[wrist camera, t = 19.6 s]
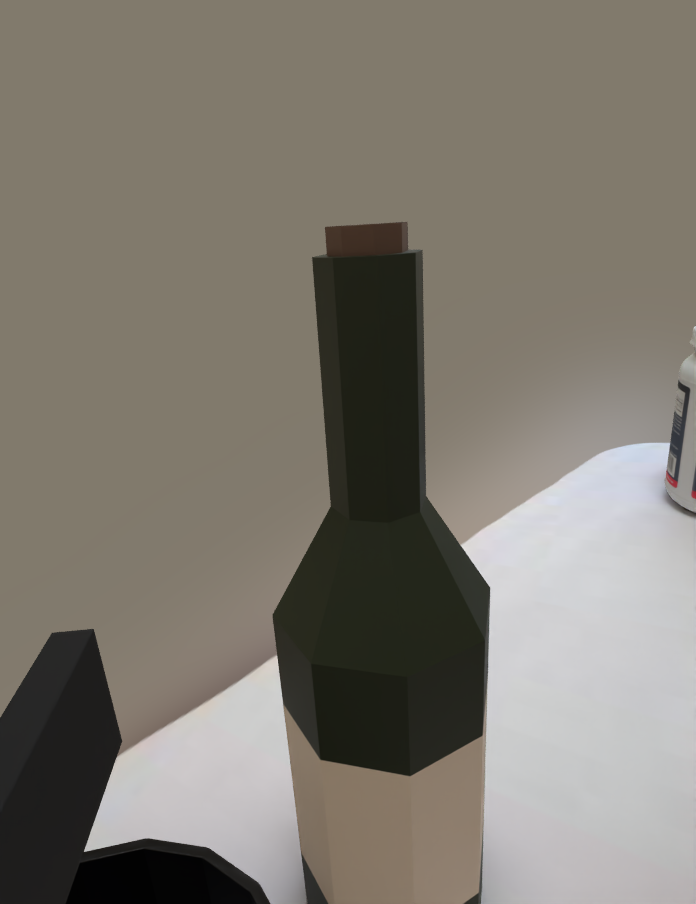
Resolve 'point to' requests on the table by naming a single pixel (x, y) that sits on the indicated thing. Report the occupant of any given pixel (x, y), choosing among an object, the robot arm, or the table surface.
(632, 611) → the table surface
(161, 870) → the frying pan
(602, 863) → the table surface
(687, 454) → the supplement tub
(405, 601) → the wine bottle
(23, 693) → the robot arm
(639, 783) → the table surface
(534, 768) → the table surface
